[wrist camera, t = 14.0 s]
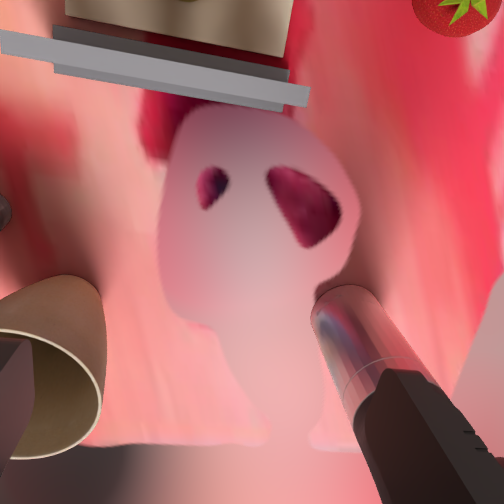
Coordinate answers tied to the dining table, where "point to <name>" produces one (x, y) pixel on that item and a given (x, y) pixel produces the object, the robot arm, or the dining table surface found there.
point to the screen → (158, 68)
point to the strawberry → (456, 15)
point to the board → (198, 20)
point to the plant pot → (59, 360)
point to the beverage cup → (4, 212)
